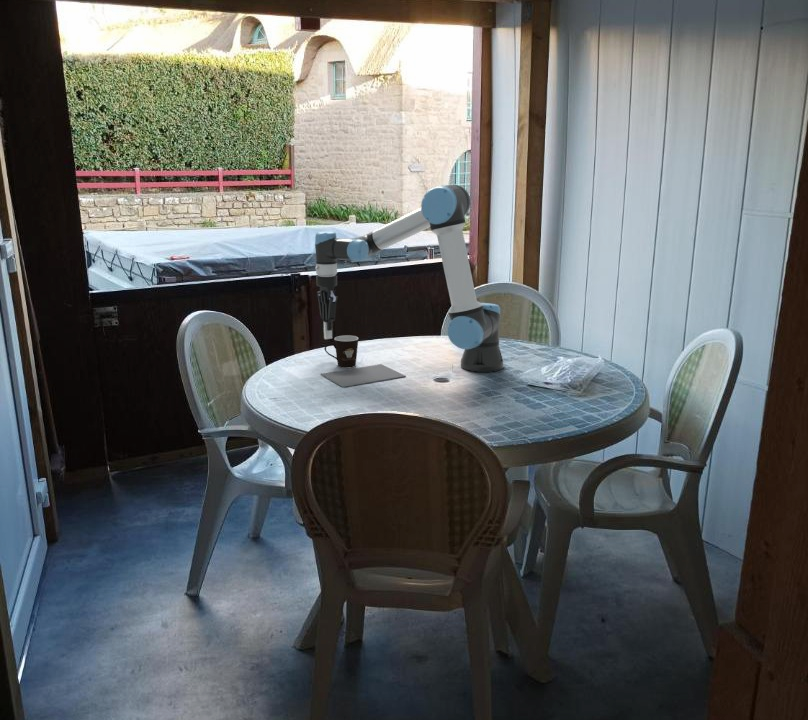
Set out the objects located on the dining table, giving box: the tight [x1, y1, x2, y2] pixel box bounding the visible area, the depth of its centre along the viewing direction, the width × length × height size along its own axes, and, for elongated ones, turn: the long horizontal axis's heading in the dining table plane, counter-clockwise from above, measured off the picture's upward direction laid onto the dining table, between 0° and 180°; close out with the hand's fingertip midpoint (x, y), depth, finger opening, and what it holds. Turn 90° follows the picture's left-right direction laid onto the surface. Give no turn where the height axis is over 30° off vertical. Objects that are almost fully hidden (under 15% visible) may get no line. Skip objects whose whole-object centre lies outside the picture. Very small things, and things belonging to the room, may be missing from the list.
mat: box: [320, 363, 407, 388], centre depth 260 cm, size 17×24×1 cm
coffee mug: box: [324, 335, 359, 368], centre depth 271 cm, size 12×9×10 cm
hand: (328, 338), depth 280 cm, fingers closed
